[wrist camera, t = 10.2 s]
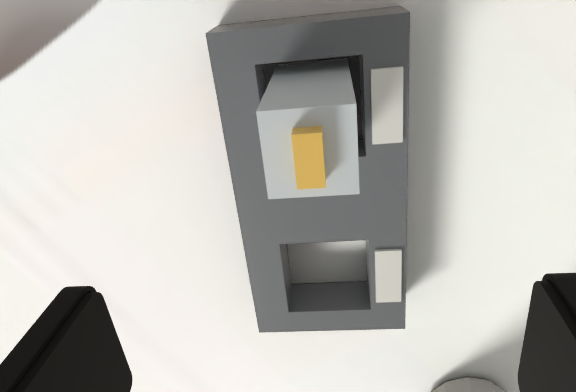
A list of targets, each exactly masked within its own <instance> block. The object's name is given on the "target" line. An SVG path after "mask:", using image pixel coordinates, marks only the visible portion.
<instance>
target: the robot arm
mask: <svg viewBox="0 0 576 392" xmlns="http://www.w3.org/2000/svg"><path fill="white" fill-rule="evenodd" d="M518 385H519V389H520V392H576V273H554V274H545V275H544V277H543V279H542V281H536V282H535V283H534V285H533V290H532V296H531V301H530V307H529V313H528V319H527V324H526V330H525V336H524V341H523V347H522V353H521V359H520V364H519V370H518ZM131 386H132V374H131V371H130V368H129V365H128V363H127V360H126V357H125V355H124V352H123V349H122V346H121V344H120V341H119V338H118V336H117V333H116V330H115V328H114V325H113V322H112V319H111V317H110V314H109V311H108V309H107V306H106V303H105V301H104V298H103V296H102V294H101V293H99V292H96V290H95V289H94V288H93V287H91V286H75V287H65V288H63V289H62V290H61V291H60V292H59V294H58V295H57V296H56V297H55V299H54V300H53V301H52V302H51V303H50V305H49V306H48V307H47V308H46V310H45V311H44V312H43V313H42V314H41V316H40V317H39V318H38V319H37V320H36V322H35V323H34V324H33V325H32V327H31V328H30V329H29V330H28V331H27V333H26V334H25V335H24V336H23V338H22V339H21V340H20V341H19V342H18V344H17V345H16V346H15V347H14V349H13V350H12V351H11V352H10V353H9V355H8V356H7V357H6V358H5V360H4V361H3V362H2V363H1V364H0V392H130V390H131Z"/></svg>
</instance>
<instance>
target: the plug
mask: <svg viewBox="0 0 576 392" xmlns="http://www.w3.org/2000/svg"><path fill="white" fill-rule="evenodd" d="M256 115H257V122H258V129H259V137H260V144H261V151H262V158H263V165H264V173H265V180H266V187H267V194H268V199H282V198H300V197H318V196H335V195H353V194H360V191H359V163H358V134H357V106H356V99H355V94H354V89H353V84H352V80H351V75H350V70H349V65H348V60H347V59H336V60H325V61H314V62H302V63H291V64H280V65H277V66H276V69H275V71H274V73H273V75H272V78H271V80H270V82H269V84H268V86H267V89H266V91H265V93H264V95H263V97H262V100H261V102H260V104H259V106H258V108H257V111H256Z"/></svg>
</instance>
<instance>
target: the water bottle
mask: <svg viewBox="0 0 576 392" xmlns="http://www.w3.org/2000/svg"><path fill="white" fill-rule="evenodd" d="M432 392H506V391H505V390H503V389H501V388H500V387H498V386H497V385H495V384H493V383H492V382H490V381H489V380H485V379H478V378H470V377H465V378H460V379H456V380H452V381H447V382H445V383H443V384H442V385H441V386H439V387H438V388H436V389H435V390H433V391H432Z"/></svg>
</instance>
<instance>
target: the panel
mask: <svg viewBox="0 0 576 392" xmlns="http://www.w3.org/2000/svg"><path fill="white" fill-rule="evenodd" d="M409 29H410V12H409V11H407V10H406V9H404V8H403V7H401V6H398V7H388V8H379V9H369V10H360V11H350V12H341V13H331V14H322V15H312V16H303V17H293V18H284V19H274V20H265V21H255V22H246V23H236V24H227V25H218V26H216V27H215V28H213V29H212V30H210V31H209V32H207V33H206V39H207V44H208V50H209V55H210V61H211V67H212V72H213V78H214V83H215V89H216V94H217V100H218V106H219V111H220V117H221V122H222V128H223V133H224V139H225V145H226V150H227V156H228V161H229V167H230V172H231V178H232V184H233V189H234V195H235V200H236V206H237V211H238V217H239V222H240V228H241V234H242V239H243V245H244V250H245V256H246V261H247V267H248V273H249V278H250V284H251V289H252V295H253V300H254V306H255V312H256V317H257V323H258V328H259V332H293V331H331V330H369V329H405V303H406V234H407V166H408V97H409ZM352 55H360V83H361V112H362V137H361V138H358V163H359V191H360V194H353V195H335V196H318V197H300V198H282V199H268V194H267V187H266V180H265V173H264V165H263V158H262V151H261V144H260V137H259V129H258V122H257V115H256V111H257V108H258V106H259V104H260V102H261V100H262V97H263V95H264V93H265V91H266V82H265V74H264V66H263V64H268V63H278V62H289V61H299V60H310V59H321V58H331V57H342V56H352ZM356 240H366V261H367V281H359V282H333V283H307V284H291V277H290V269H289V261H288V253H287V245H286V244H294V243H315V242H336V241H356Z"/></svg>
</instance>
